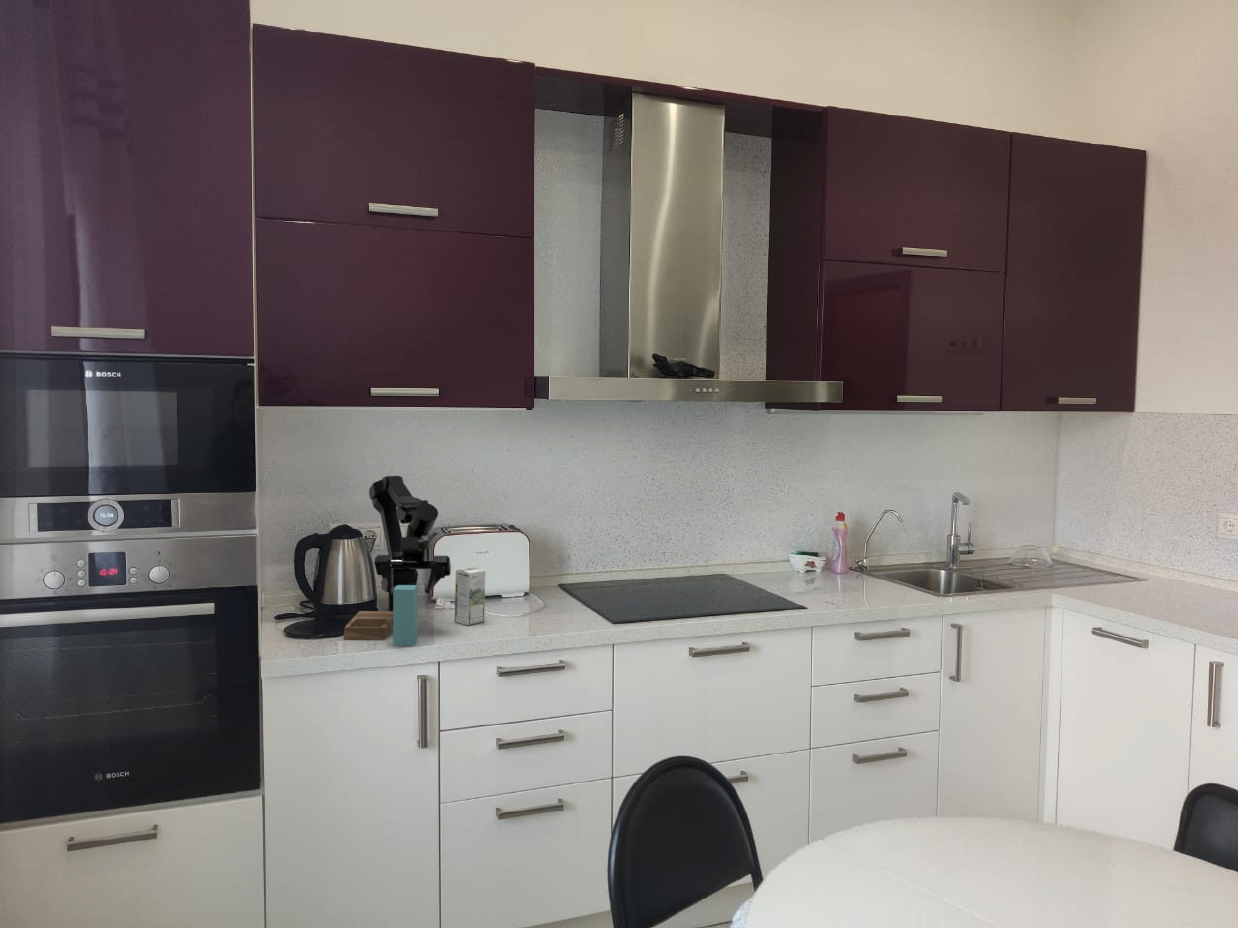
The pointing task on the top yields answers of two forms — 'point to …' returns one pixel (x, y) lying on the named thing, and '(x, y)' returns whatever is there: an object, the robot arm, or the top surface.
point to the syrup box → (470, 596)
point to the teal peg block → (405, 615)
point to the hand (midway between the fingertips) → (409, 593)
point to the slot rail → (369, 626)
